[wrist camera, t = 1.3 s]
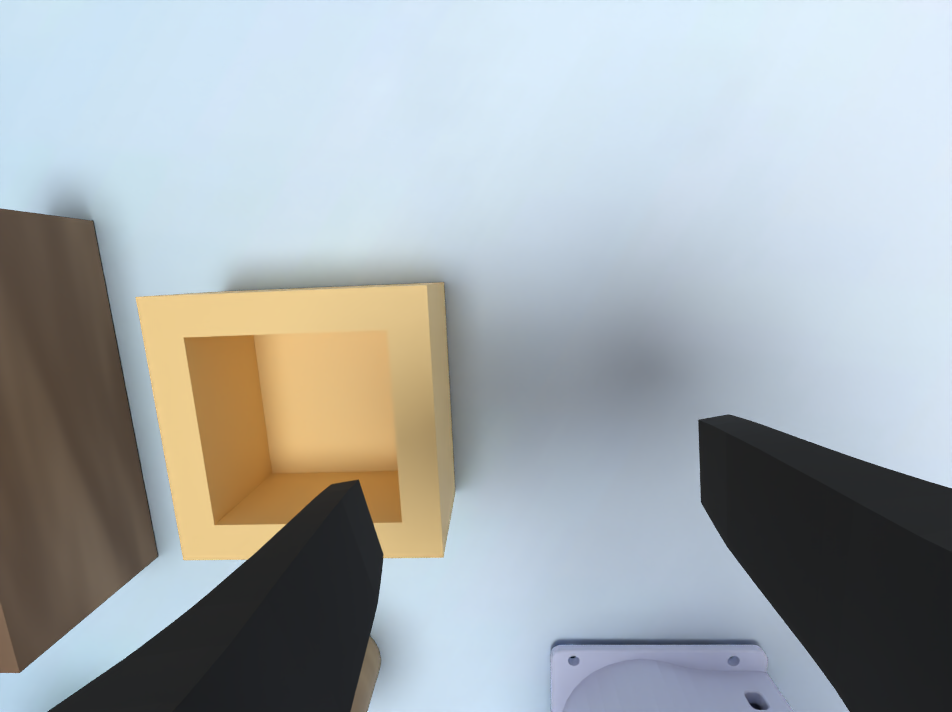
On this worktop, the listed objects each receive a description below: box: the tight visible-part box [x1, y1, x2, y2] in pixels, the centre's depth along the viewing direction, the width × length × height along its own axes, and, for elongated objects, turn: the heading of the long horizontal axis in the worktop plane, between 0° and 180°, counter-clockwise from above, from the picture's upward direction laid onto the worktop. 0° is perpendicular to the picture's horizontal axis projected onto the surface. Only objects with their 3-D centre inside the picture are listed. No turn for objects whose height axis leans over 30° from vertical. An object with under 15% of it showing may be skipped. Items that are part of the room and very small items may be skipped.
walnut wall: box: [0, 209, 158, 673], centre depth 16 cm, size 2×15×6 cm, turn 3°
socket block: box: [136, 282, 455, 560], centre depth 16 cm, size 9×9×4 cm
